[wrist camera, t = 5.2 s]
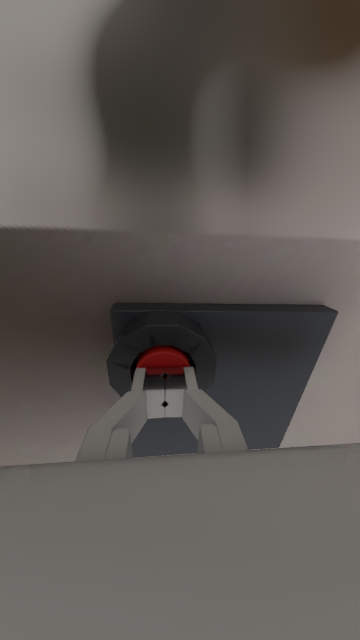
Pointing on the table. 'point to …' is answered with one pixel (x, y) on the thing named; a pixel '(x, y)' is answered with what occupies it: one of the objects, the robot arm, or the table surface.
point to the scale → (224, 363)
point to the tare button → (163, 357)
